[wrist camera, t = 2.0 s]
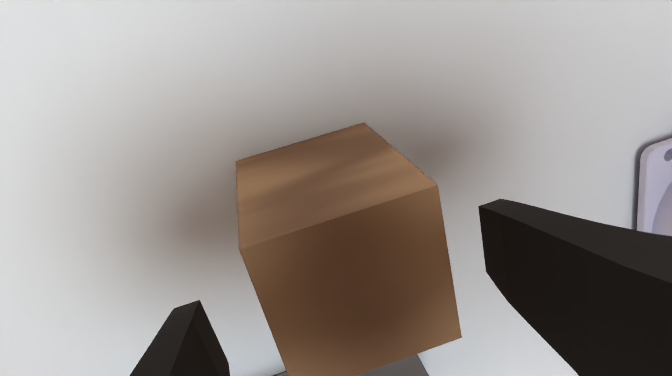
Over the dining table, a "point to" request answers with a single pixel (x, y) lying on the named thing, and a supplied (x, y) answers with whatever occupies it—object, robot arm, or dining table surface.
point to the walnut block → (345, 253)
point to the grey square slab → (395, 368)
